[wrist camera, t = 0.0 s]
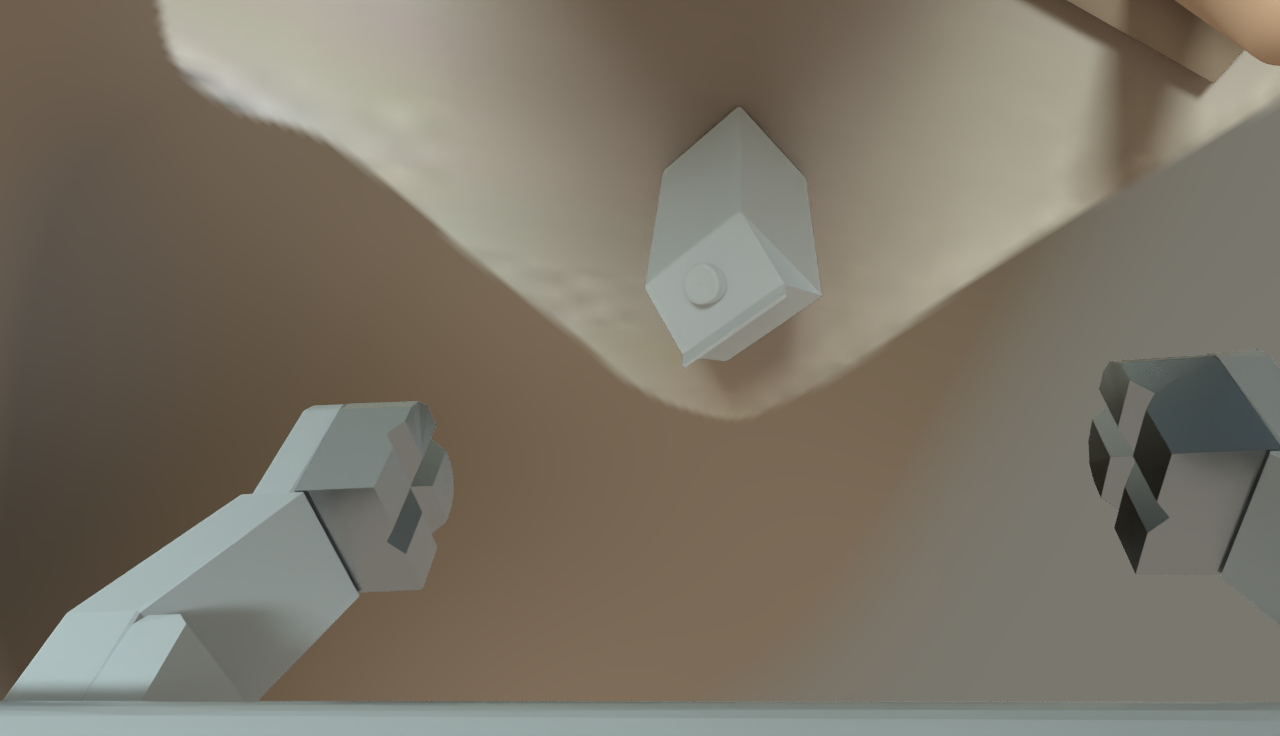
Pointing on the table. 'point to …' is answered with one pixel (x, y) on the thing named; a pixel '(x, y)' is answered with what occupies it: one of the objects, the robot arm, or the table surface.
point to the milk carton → (731, 242)
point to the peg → (1244, 24)
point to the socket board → (1169, 32)
